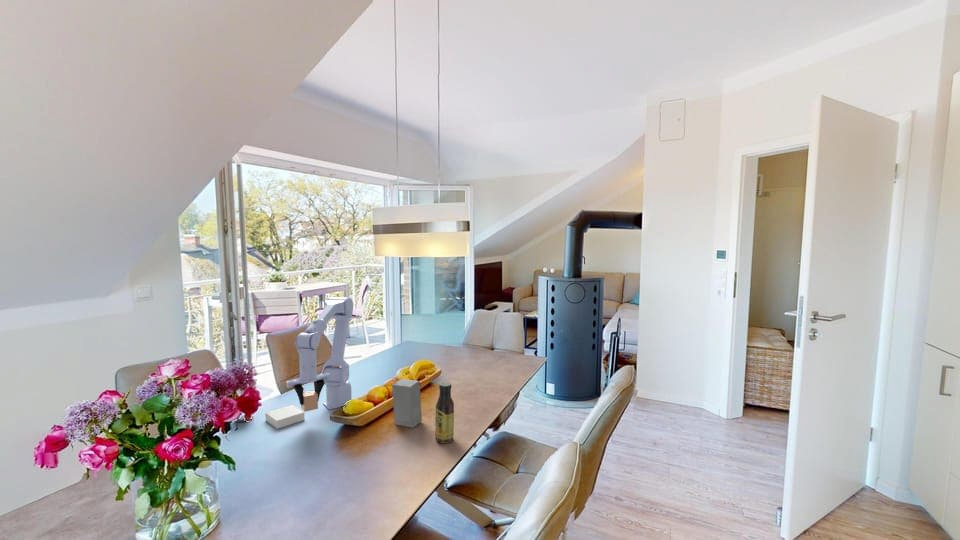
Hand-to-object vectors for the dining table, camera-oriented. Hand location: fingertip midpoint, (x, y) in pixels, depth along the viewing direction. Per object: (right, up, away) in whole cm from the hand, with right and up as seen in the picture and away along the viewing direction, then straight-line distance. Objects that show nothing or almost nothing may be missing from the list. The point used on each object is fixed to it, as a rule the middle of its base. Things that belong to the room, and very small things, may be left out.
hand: (309, 402), depth 150 cm
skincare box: (+35, -9, +3) cm, 36 cm away
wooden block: (0, -2, 0) cm, 2 cm away
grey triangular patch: (-27, -8, +5) cm, 28 cm away
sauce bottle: (+50, -10, -10) cm, 52 cm away
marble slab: (-11, -8, +5) cm, 14 cm away
